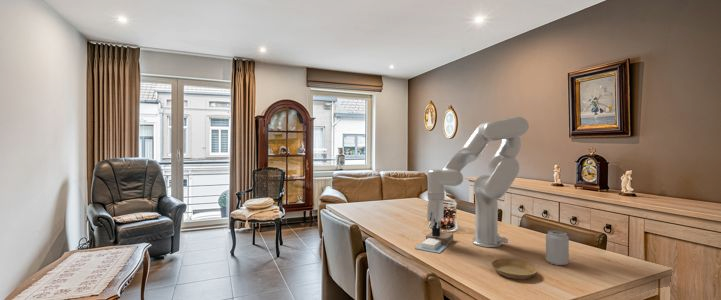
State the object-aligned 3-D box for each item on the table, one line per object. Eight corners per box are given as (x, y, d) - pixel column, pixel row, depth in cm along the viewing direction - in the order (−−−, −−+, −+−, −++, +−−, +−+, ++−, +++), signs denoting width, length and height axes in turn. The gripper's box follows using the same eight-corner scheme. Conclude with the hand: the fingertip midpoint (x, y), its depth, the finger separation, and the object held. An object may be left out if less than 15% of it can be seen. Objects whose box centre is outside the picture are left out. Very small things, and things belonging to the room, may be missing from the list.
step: (453, 240, 152) (453, 233, 152) (446, 245, 143) (446, 239, 143) (433, 236, 157) (433, 231, 157) (425, 242, 149) (425, 236, 149)
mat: (447, 246, 143) (447, 245, 143) (439, 253, 133) (439, 252, 133) (424, 242, 149) (424, 241, 149) (415, 249, 139) (415, 248, 139)
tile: (441, 244, 144) (441, 239, 144) (434, 249, 137) (434, 245, 137) (428, 242, 148) (428, 237, 148) (421, 247, 140) (421, 243, 140)
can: (565, 260, 124) (565, 230, 124) (571, 267, 117) (571, 235, 117) (543, 258, 127) (543, 228, 126) (548, 265, 120) (548, 233, 119)
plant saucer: (538, 270, 115) (538, 263, 115) (535, 286, 103) (535, 278, 103) (495, 262, 123) (495, 256, 123) (487, 276, 111) (487, 268, 111)
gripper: (433, 193, 154) (433, 231, 154) (422, 198, 141) (422, 238, 142) (449, 194, 150) (449, 233, 150) (438, 199, 137) (438, 241, 138)
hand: (436, 235), depth 146 cm, fingers closed
